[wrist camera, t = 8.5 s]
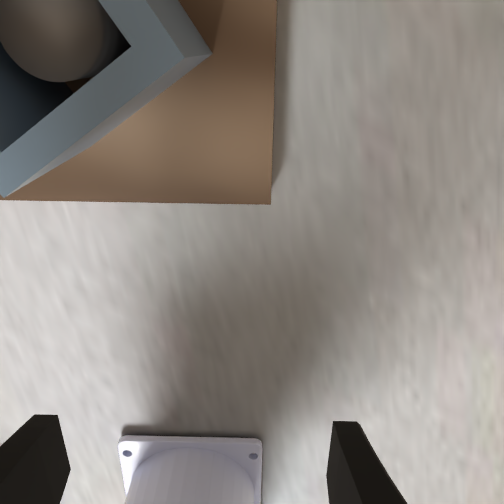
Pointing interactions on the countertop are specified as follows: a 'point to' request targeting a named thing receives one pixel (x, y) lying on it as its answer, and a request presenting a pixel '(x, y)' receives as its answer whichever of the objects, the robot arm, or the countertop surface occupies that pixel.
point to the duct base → (159, 105)
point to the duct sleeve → (92, 91)
